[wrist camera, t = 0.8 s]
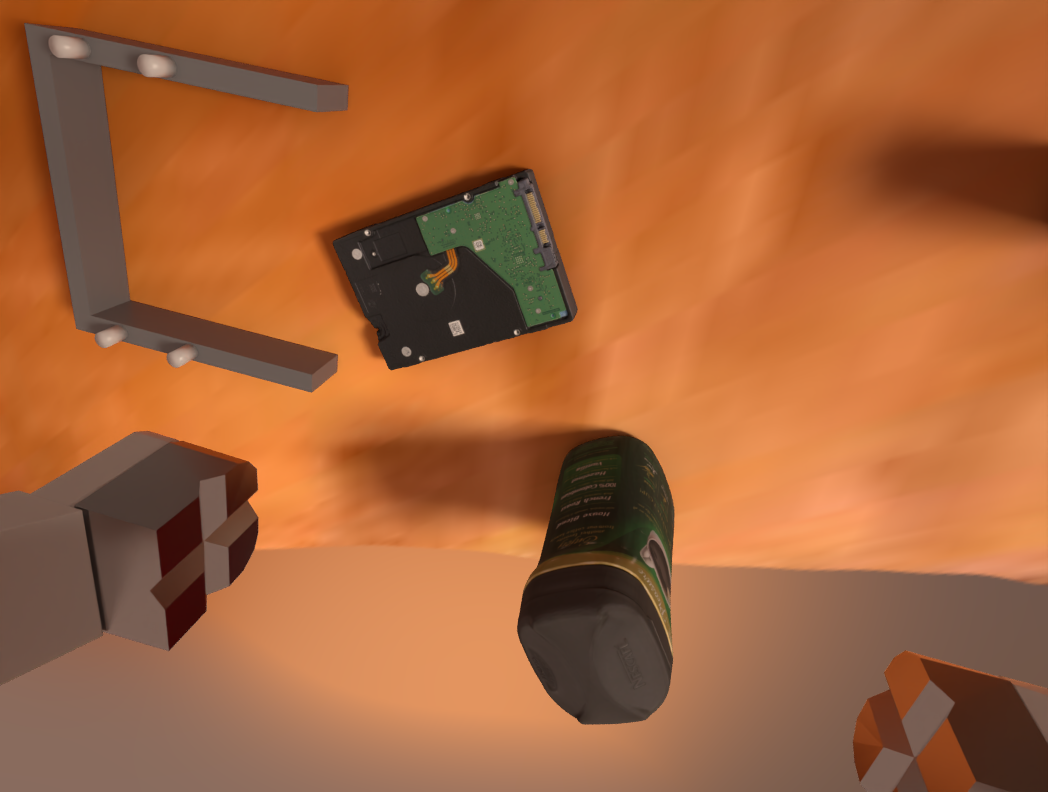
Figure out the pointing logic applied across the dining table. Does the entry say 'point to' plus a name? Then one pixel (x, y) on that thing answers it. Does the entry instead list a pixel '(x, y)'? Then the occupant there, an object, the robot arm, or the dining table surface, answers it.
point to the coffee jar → (604, 586)
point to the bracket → (92, 206)
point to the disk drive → (460, 272)
